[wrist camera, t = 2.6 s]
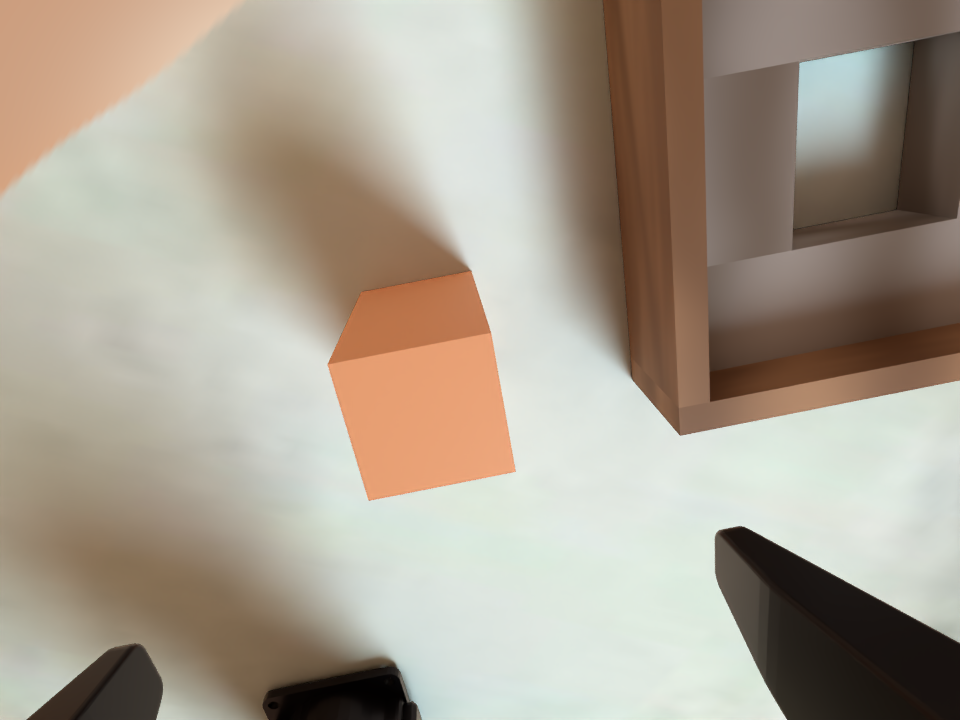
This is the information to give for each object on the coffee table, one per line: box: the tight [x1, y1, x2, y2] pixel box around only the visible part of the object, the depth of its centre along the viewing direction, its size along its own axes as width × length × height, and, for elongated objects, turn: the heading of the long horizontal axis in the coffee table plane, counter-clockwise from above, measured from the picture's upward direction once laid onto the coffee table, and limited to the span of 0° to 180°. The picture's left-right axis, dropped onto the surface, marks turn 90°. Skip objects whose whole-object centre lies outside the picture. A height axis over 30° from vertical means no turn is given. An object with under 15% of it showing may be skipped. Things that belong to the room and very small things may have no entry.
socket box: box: [603, 0, 960, 436], centre depth 17 cm, size 15×15×4 cm
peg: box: [328, 271, 516, 501], centre depth 17 cm, size 4×4×7 cm
